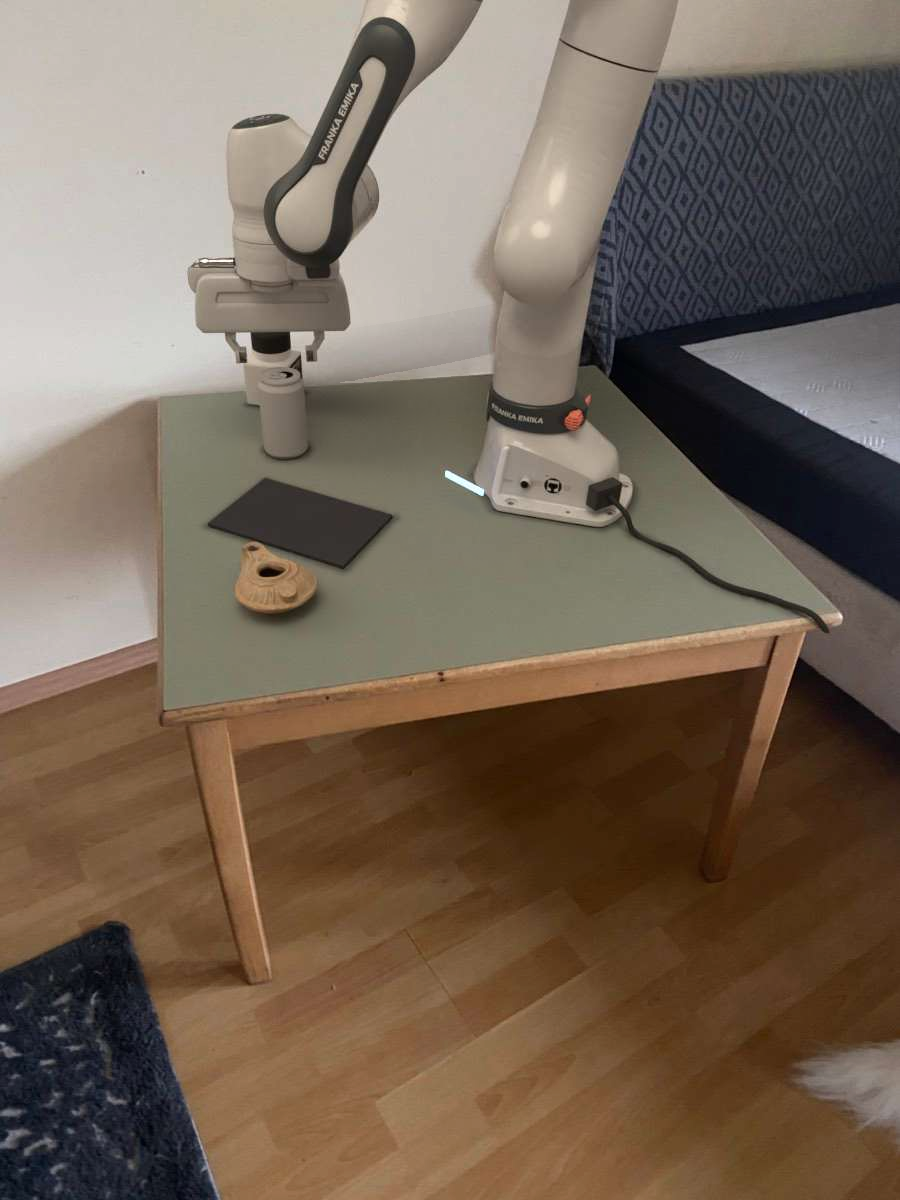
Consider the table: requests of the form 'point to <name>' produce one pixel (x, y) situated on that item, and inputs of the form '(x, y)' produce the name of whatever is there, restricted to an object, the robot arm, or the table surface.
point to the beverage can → (283, 412)
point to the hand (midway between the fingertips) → (277, 361)
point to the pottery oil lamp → (272, 581)
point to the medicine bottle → (268, 359)
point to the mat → (302, 522)
